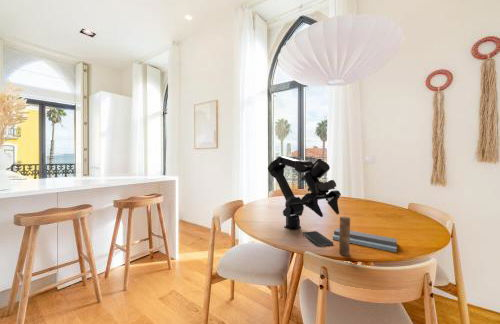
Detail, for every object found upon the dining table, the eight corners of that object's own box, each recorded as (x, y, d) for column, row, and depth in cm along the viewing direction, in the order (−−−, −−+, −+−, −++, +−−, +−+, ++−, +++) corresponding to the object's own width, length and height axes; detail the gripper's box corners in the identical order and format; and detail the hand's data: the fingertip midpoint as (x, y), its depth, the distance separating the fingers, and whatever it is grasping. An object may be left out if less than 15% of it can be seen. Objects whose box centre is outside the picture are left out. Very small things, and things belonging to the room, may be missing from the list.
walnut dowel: (337, 253, 86) (338, 217, 86) (342, 250, 89) (342, 216, 88) (346, 256, 84) (347, 220, 83) (351, 254, 86) (351, 218, 85)
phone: (317, 245, 93) (301, 232, 107) (317, 247, 93) (301, 234, 107) (334, 243, 94) (316, 230, 109) (334, 245, 94) (316, 233, 109)
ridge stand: (332, 239, 100) (332, 232, 100) (337, 232, 109) (337, 226, 109) (396, 252, 87) (396, 245, 87) (396, 243, 96) (396, 236, 96)
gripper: (307, 174, 92) (325, 209, 83) (339, 172, 100) (358, 203, 92) (294, 188, 100) (309, 221, 91) (325, 185, 108) (341, 215, 100)
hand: (330, 215), depth 93 cm, fingers open, 9 cm apart
